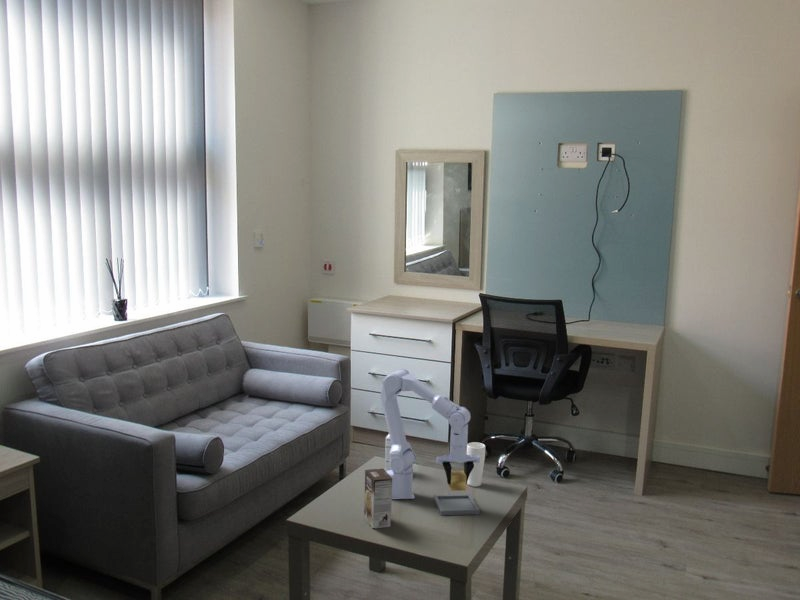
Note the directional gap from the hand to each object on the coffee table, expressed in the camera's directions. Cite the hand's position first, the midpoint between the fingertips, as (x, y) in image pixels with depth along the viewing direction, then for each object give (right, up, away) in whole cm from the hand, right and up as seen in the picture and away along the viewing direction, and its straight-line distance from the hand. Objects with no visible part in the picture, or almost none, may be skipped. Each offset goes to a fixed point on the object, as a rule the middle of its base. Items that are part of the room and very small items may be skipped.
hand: (456, 483), depth 241 cm
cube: (0, -2, 0) cm, 2 cm away
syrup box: (-22, -4, +31) cm, 38 cm away
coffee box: (-27, -9, -13) cm, 31 cm away
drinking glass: (+8, -6, +21) cm, 23 cm away
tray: (0, -8, +1) cm, 8 cm away
